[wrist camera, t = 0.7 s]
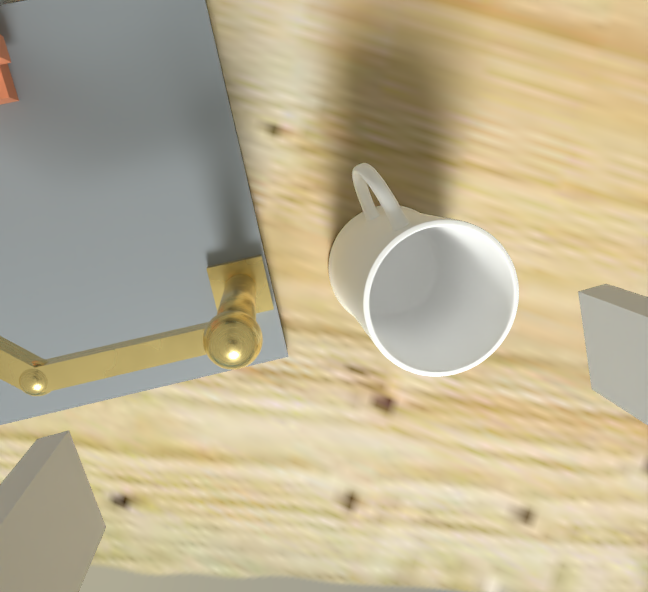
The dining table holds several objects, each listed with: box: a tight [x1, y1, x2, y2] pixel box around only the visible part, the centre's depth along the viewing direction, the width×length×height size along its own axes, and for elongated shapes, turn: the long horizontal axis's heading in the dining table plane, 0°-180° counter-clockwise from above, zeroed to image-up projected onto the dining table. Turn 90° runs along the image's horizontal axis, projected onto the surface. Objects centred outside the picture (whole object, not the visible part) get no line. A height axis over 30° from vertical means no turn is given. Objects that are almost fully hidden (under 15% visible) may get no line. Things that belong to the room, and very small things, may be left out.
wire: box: [0, 255, 274, 396], centre depth 29 cm, size 15×17×14 cm
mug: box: [329, 163, 519, 376], centre depth 34 cm, size 12×8×12 cm
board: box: [0, 0, 288, 425], centre depth 36 cm, size 25×20×1 cm
